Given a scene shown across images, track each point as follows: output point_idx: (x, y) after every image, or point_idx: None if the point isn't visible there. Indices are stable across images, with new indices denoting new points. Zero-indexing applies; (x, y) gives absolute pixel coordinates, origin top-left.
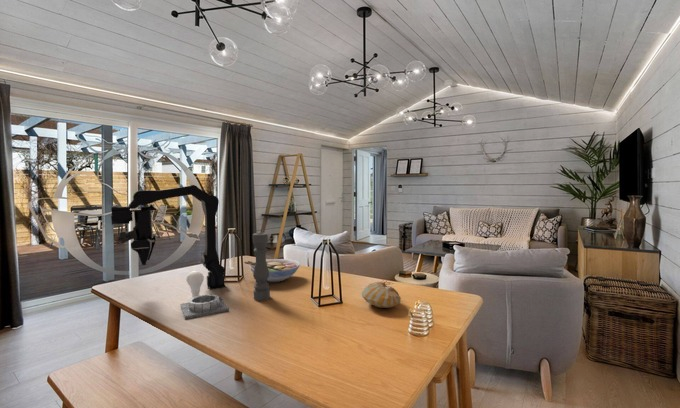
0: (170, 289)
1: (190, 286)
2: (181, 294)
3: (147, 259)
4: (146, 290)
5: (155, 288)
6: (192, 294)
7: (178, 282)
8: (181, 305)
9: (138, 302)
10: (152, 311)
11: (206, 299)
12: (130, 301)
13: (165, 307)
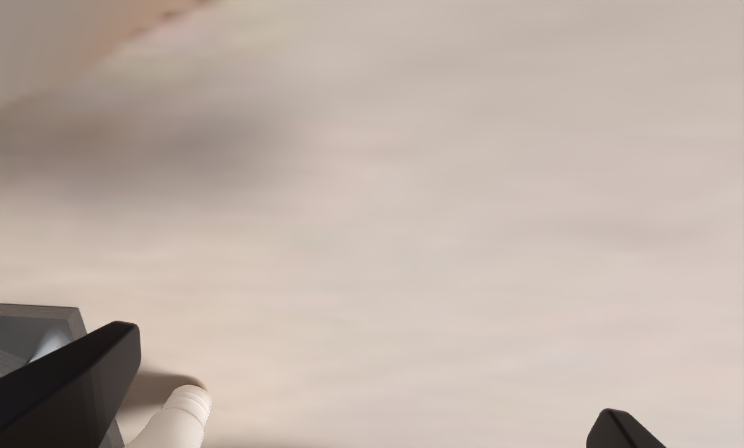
0: (528, 308)
1: (129, 445)
2: (343, 346)
3: (601, 431)
4: (655, 152)
5: (658, 222)
6: (171, 402)
7: (693, 374)
8: (32, 319)
9: (304, 76)
10: (33, 159)
11: None
12: (375, 10)
13: (93, 236)
